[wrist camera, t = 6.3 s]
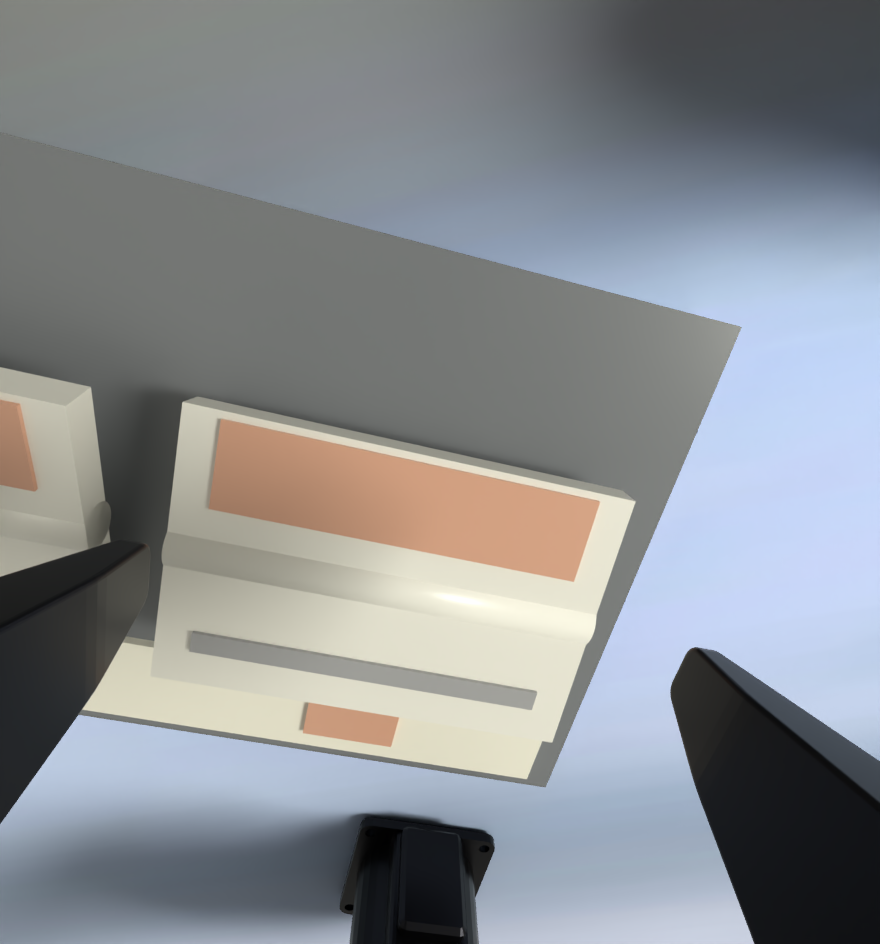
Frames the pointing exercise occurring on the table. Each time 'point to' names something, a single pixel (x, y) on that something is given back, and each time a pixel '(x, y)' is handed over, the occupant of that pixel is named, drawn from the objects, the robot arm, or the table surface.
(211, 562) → the cream slotted panel
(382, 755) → the switch panel
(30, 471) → the rocker
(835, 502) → the table surface
